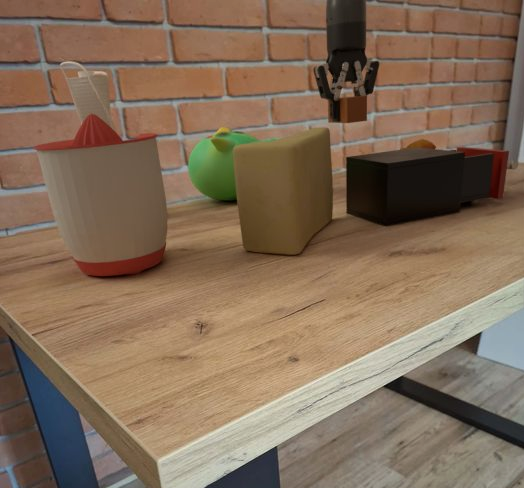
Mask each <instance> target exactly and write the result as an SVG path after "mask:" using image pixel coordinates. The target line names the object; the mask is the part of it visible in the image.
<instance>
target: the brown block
mask: <svg viewBox="0 0 524 488" xmlns="http://www.w3.org/2000/svg"><path fill="white" fill-rule="evenodd" d="M338 101H340V121H339V122H333V121H332V119H331V118H330V103H329V101H328V100H327V121H328V122H327V123H331V124H352V123H360V122H367V121H368V95H367V96H355V97H354V96H341V97H340V98H339V100H338Z"/></svg>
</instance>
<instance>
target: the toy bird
mask: <svg viewBox="0 0 524 488" xmlns="http://www.w3.org/2000/svg"><path fill="white" fill-rule="evenodd" d="M281 138H282V137H273V138H268V139H263V140H259V139H258V138H257V137H255V136H253V135H251V134H249V133H246V132H243V131H236V130H233V131H232V130H231V129H230V128H229V127H227V126H221V127H219V129H217V131H216V132H215V133H214V134H210V135H208V136H207V137H204V138H203V139H201V140H200V141H199V142H198V143H197V144H196V145H195V146H194V147H193V148H192V151H191V153H190V155H189V158H188V163H187V165H188V166H187V170H188V171H187V172H188V175H189V178H190V181H191V183H192V185H193V186H194V187H195V189H196V190H198V192H200V193H201V194H202V195H204V196H206V197H207V198H210V199H213V200H218V201H237V195H236V185H235V173H234V161H233V149H234V147H236V146H238V145H241V144H247V143H254V142H267V141H273V140H278V139H281Z"/></svg>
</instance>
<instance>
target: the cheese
mask: <svg viewBox="0 0 524 488" xmlns="http://www.w3.org/2000/svg"><path fill="white" fill-rule="evenodd" d="M280 138H281V139H278V140H273V141H267V142H254V143H247V144H241V145H238V146H236V147H234V149H233V161H234V173H235V185H236V195H237V200H236V203H237V210H238V218H239V227H240V234H241V241H242V248H243V249H244V251H246V252H247V251H248V252H253V253H264V254H273V255H275V254H276V255H287V256H291V255H292V256H295V255H298V254H301V253H302V251H303V250H304V249H305V247H306V246H307V244H308V243H309V241H310V240H311V238H312V237H313V236H314V235H315V234H317V233H318V232H319V231H321V230H322V229H323V228H325V227H326V225H327V224H329V222H331V221H332V219H333V213H334V212H333V209H334V205H333V204H334V184H333V183H334V182H333V165H332V163H333V162H332V148H331V145H332V144H331V131H330V129H329V128H328V127H324V126H323V127H312V128H309V129H306V130H304V131H301V132H298V133H294V134H291V135H287V136H285V137H280Z"/></svg>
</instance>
